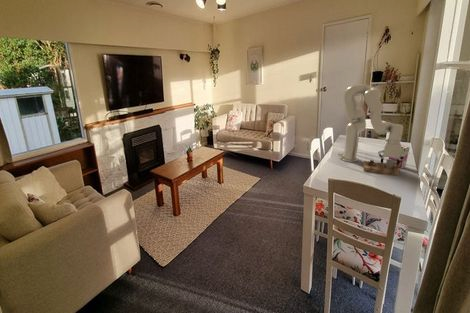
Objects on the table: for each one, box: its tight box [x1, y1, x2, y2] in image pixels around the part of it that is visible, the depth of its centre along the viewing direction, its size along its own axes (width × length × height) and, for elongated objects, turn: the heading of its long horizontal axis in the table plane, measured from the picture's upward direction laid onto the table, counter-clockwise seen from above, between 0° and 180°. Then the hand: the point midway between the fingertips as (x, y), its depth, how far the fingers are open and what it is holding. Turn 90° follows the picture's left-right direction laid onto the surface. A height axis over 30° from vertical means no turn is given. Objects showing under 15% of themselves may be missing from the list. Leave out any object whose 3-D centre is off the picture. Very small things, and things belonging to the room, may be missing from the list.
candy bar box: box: [388, 144, 410, 170], centre depth 186 cm, size 11×5×16 cm, turn 21°
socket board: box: [362, 159, 400, 176], centre depth 183 cm, size 22×14×4 cm, turn 65°
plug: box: [385, 158, 394, 169], centre depth 180 cm, size 4×4×8 cm
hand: (389, 163), depth 179 cm, fingers open, 9 cm apart
